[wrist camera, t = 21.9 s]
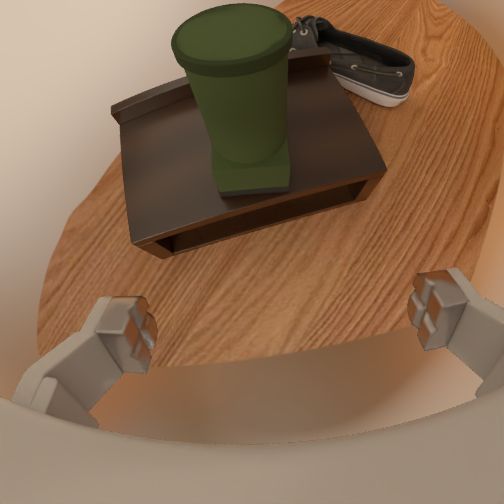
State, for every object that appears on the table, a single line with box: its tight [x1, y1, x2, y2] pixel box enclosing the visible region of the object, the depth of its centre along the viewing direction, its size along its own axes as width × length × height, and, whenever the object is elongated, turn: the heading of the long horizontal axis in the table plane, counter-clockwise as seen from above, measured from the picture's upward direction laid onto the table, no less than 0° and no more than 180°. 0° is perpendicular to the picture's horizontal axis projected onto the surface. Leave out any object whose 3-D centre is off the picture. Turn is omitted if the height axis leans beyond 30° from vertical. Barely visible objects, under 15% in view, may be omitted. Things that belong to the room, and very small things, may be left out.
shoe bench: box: [111, 47, 387, 259], centre depth 26 cm, size 14×22×9 cm, turn 106°
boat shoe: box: [290, 15, 415, 107], centre depth 29 cm, size 26×9×8 cm, turn 59°
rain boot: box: [171, 3, 293, 197], centre depth 17 cm, size 11×6×13 cm, turn 4°
